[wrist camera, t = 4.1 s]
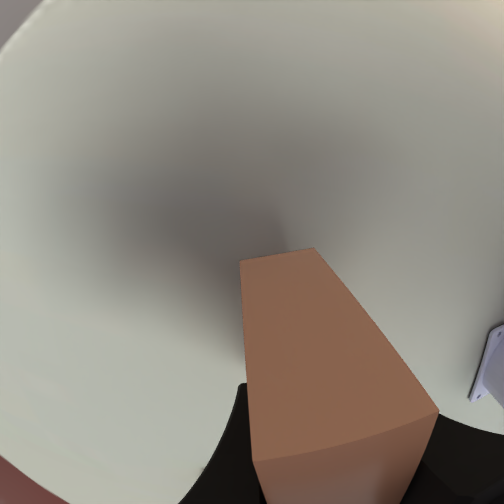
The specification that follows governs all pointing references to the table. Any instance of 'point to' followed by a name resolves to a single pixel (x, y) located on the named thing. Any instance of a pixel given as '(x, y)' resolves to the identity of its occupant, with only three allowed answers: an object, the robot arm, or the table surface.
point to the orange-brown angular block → (326, 389)
